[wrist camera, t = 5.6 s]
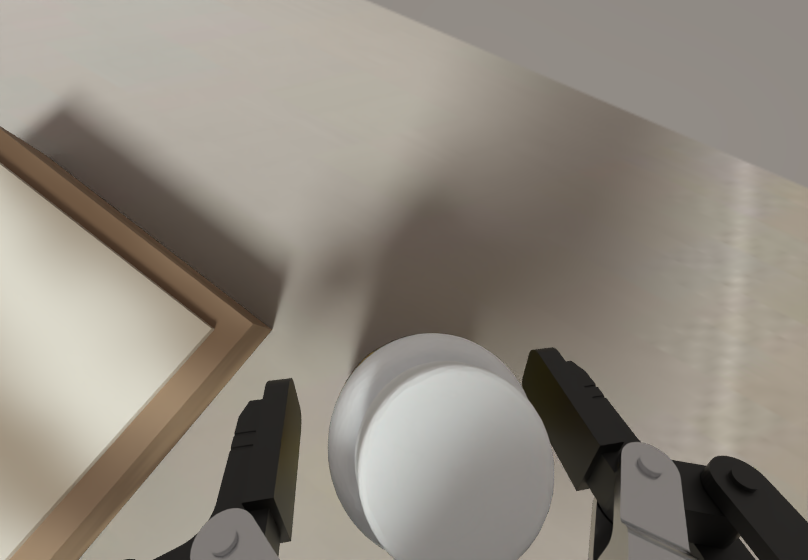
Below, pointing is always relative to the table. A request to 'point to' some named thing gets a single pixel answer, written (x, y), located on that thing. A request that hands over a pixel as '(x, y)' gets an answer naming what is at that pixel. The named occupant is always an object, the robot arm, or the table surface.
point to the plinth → (94, 356)
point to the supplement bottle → (440, 452)
